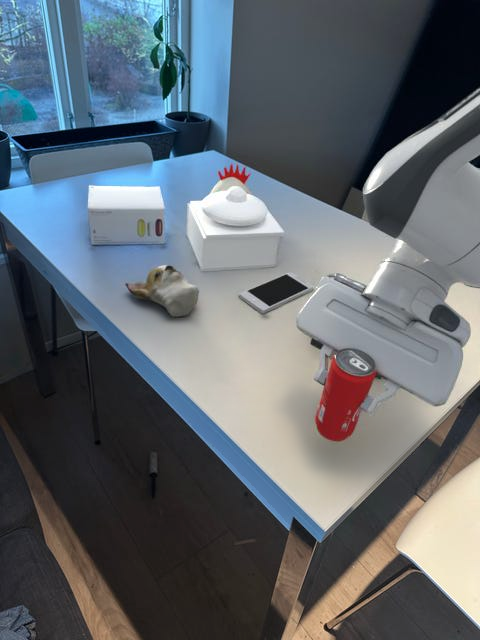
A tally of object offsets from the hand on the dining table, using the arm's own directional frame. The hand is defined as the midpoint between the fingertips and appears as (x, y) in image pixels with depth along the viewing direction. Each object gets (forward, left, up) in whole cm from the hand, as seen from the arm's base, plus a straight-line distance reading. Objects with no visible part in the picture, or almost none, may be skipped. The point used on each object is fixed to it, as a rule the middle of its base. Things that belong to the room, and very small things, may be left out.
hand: (342, 397), depth 55 cm
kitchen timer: (+54, -52, -12) cm, 76 cm away
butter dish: (+44, -39, -12) cm, 60 cm away
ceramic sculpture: (+40, -13, -12) cm, 44 cm away
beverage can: (0, -1, -7) cm, 7 cm away
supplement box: (+67, -28, -12) cm, 74 cm away
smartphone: (+26, -31, -12) cm, 42 cm away
